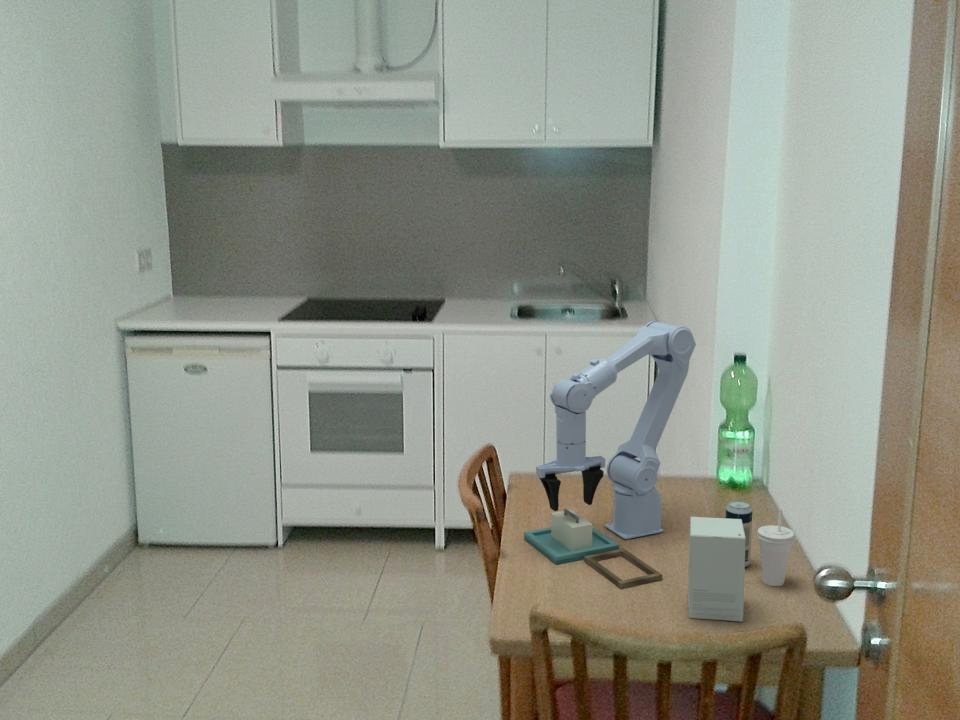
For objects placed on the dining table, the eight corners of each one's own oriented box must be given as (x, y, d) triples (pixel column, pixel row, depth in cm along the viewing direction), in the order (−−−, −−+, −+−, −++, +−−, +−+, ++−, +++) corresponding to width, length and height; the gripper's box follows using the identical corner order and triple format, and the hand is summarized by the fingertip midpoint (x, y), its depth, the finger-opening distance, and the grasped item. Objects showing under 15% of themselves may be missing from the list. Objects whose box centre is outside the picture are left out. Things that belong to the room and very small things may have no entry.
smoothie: (793, 590, 166) (797, 516, 163) (756, 588, 168) (759, 514, 165) (789, 575, 172) (793, 503, 170) (753, 573, 174) (756, 501, 171)
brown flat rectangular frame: (623, 553, 184) (623, 548, 184) (662, 579, 172) (662, 574, 171) (583, 561, 180) (583, 556, 180) (620, 588, 168) (621, 583, 168)
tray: (584, 527, 197) (584, 521, 197) (619, 552, 184) (619, 544, 184) (524, 539, 191) (524, 532, 191) (556, 564, 179) (556, 557, 179)
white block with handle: (570, 532, 192) (570, 504, 191) (592, 548, 184) (592, 518, 183) (551, 536, 191) (551, 507, 190) (572, 552, 183) (572, 522, 181)
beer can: (750, 560, 179) (753, 501, 177) (749, 570, 175) (751, 509, 172) (725, 557, 181) (727, 498, 178) (722, 567, 176) (725, 507, 174)
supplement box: (740, 598, 164) (743, 517, 161) (743, 623, 155) (747, 537, 152) (687, 595, 165) (689, 514, 162) (687, 618, 157) (690, 534, 154)
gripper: (547, 451, 177) (547, 518, 180) (613, 441, 183) (613, 507, 185) (530, 441, 183) (531, 507, 186) (595, 432, 189) (595, 495, 192)
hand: (571, 506), depth 186 cm, fingers open, 7 cm apart
